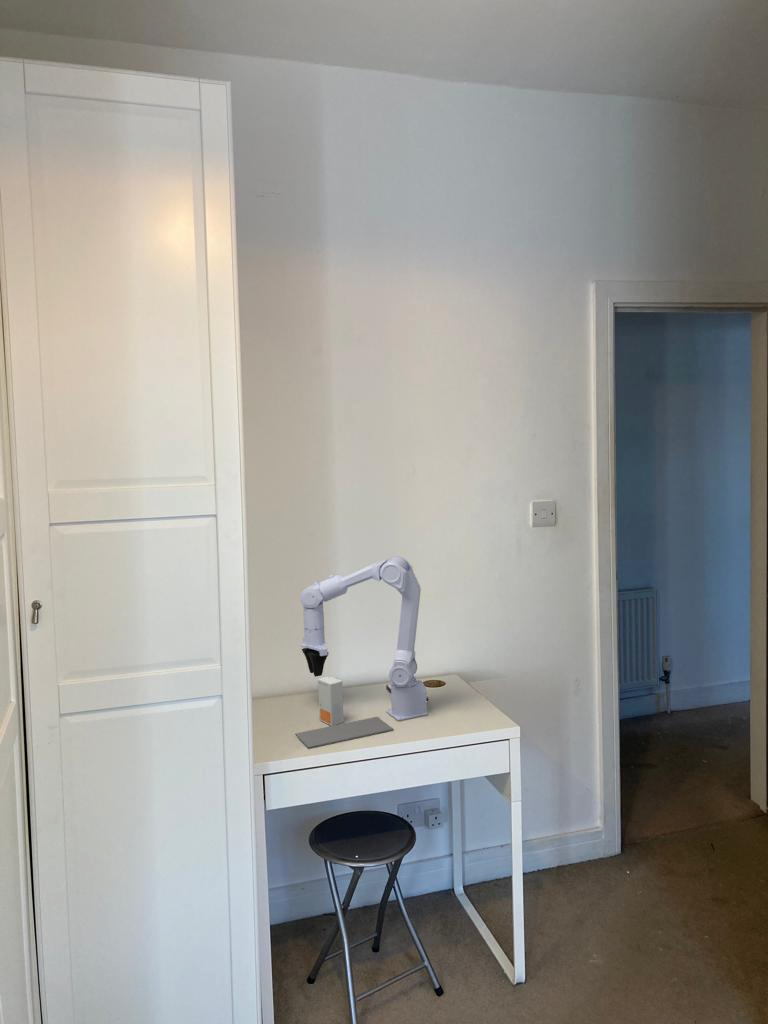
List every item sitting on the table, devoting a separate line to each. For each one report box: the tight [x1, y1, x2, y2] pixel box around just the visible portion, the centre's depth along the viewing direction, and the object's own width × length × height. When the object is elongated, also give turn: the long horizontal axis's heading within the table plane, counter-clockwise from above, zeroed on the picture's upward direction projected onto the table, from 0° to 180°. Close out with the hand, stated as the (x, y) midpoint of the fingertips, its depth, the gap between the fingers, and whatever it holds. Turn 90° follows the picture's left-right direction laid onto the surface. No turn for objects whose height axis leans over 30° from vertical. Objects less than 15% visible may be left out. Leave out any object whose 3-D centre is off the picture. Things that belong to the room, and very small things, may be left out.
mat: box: [294, 716, 394, 750], centre depth 206 cm, size 24×10×1 cm, turn 116°
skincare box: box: [317, 675, 345, 726], centre depth 213 cm, size 6×4×12 cm
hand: (315, 674), depth 222 cm, fingers open, 3 cm apart
